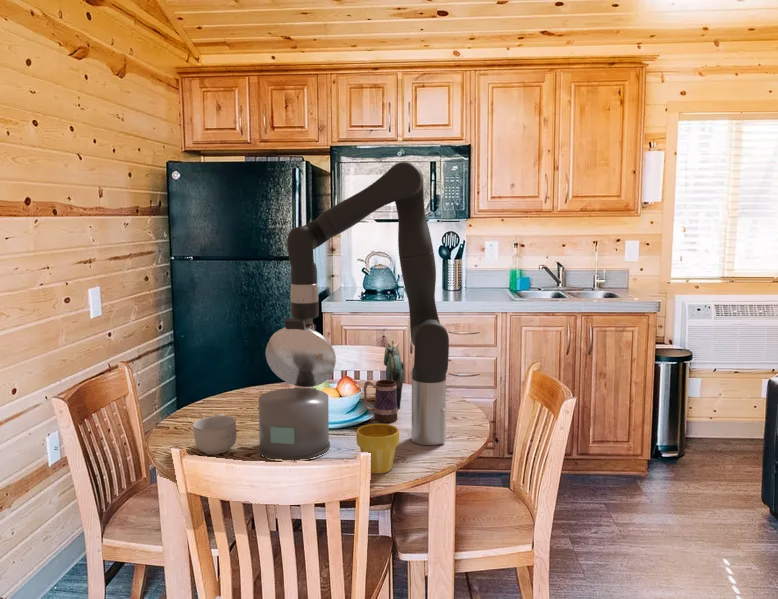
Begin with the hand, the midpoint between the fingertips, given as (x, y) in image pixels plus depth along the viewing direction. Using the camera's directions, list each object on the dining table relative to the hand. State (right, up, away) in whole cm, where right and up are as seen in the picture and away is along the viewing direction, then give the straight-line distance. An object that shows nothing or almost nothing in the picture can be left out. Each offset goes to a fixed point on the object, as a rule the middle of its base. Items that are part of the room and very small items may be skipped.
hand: (305, 362), depth 175 cm
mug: (+20, -19, +16) cm, 33 cm away
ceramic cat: (+25, -17, +36) cm, 47 cm away
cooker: (-2, -22, -8) cm, 24 cm away
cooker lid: (-1, +2, -6) cm, 7 cm away
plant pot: (+20, -24, -21) cm, 38 cm away
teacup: (-22, -22, -8) cm, 32 cm away
